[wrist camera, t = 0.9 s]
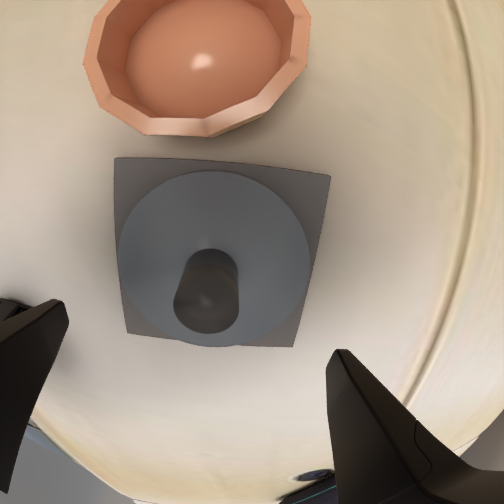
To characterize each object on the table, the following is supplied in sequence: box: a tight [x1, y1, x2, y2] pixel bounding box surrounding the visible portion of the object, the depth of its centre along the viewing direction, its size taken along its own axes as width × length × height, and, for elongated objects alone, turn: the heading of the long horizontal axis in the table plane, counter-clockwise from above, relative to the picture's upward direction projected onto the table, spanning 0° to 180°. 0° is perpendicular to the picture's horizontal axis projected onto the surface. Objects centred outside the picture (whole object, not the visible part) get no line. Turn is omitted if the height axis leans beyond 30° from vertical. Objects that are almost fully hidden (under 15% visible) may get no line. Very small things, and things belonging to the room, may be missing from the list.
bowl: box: [83, 0, 311, 138], centre depth 11 cm, size 11×11×5 cm
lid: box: [118, 170, 310, 347], centre depth 16 cm, size 13×13×5 cm
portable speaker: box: [279, 475, 338, 504], centre depth 38 cm, size 25×10×10 cm, turn 151°
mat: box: [114, 158, 331, 347], centre depth 19 cm, size 14×14×1 cm
